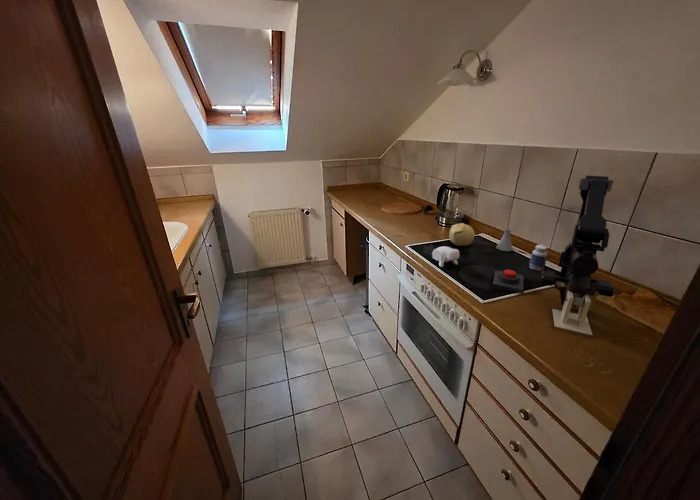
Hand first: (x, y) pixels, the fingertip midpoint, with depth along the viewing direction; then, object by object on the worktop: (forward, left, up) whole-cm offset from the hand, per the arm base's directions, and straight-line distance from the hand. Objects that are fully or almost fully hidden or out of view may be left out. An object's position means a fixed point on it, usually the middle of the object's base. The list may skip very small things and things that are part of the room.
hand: (567, 305), depth 97 cm
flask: (-46, -21, -1) cm, 51 cm away
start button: (-9, -18, +3) cm, 20 cm away
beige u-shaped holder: (+9, 0, -1) cm, 9 cm away
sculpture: (-44, -41, -1) cm, 60 cm away
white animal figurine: (-18, -43, -1) cm, 46 cm away
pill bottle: (-29, -8, -1) cm, 30 cm away
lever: (+5, 0, +3) cm, 6 cm away
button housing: (-9, -18, -1) cm, 20 cm away
